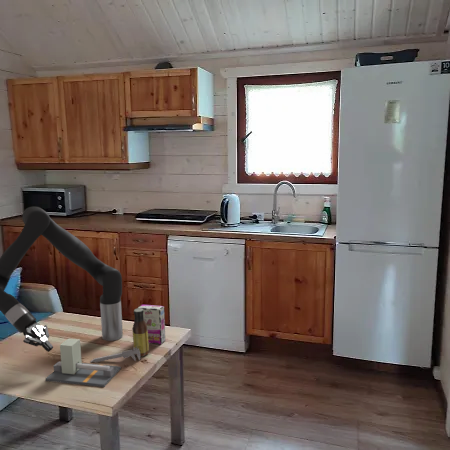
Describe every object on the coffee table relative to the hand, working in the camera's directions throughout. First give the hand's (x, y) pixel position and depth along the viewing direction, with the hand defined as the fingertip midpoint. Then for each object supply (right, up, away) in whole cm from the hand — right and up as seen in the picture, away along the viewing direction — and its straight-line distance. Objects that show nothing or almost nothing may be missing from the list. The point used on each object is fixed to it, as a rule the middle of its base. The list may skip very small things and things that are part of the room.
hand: (51, 349), depth 175 cm
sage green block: (+8, -8, 0) cm, 11 cm away
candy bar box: (+35, -4, +28) cm, 45 cm away
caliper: (+23, -8, +10) cm, 26 cm away
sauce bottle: (+32, -6, +16) cm, 37 cm away
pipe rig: (+13, -9, -1) cm, 16 cm away
